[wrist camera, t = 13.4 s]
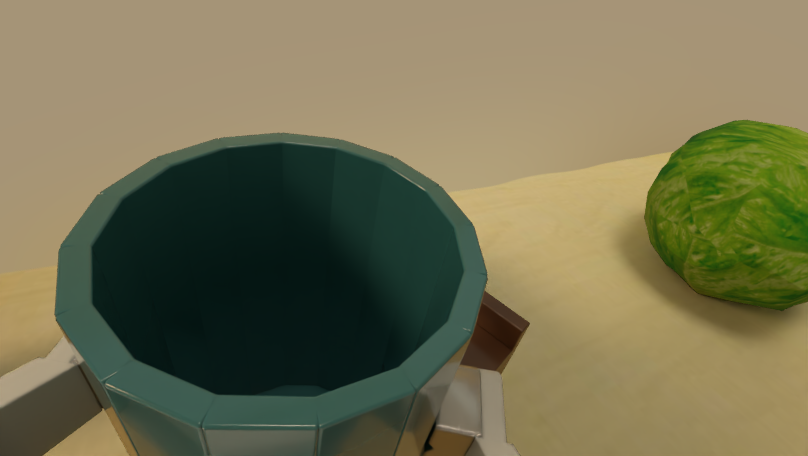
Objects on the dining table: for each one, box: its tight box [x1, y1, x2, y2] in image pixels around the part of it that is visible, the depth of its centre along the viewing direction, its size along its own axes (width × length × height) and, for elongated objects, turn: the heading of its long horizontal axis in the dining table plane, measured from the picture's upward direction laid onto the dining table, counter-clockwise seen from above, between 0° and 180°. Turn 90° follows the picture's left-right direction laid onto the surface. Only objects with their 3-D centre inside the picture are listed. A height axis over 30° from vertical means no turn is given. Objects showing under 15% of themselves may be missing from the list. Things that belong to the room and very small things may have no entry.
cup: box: [54, 133, 488, 456], centre depth 10 cm, size 6×6×10 cm
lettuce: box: [644, 120, 808, 311], centre depth 41 cm, size 17×20×15 cm
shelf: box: [419, 291, 530, 456], centre depth 25 cm, size 14×12×11 cm
